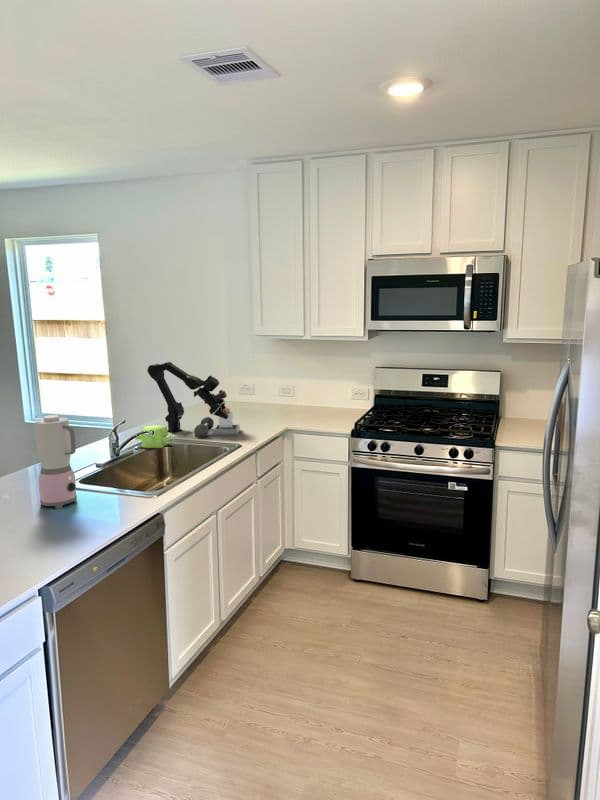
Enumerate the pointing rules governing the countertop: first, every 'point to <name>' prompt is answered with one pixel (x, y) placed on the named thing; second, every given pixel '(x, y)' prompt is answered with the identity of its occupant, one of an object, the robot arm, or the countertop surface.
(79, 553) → the countertop surface
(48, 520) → the countertop surface
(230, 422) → the block
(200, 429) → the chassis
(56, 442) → the blender
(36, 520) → the countertop surface
